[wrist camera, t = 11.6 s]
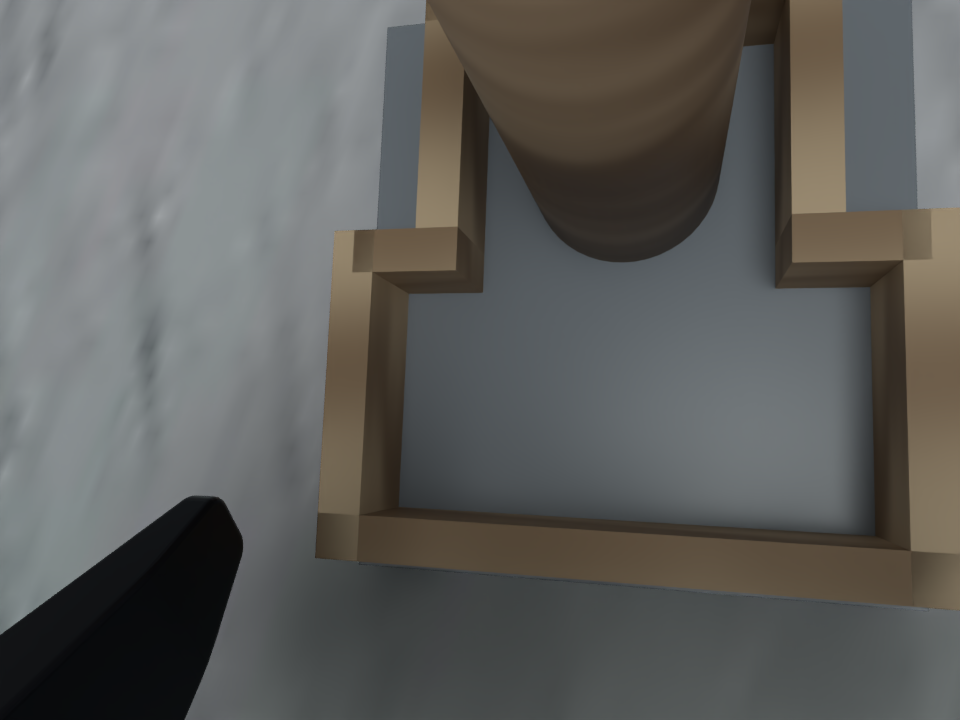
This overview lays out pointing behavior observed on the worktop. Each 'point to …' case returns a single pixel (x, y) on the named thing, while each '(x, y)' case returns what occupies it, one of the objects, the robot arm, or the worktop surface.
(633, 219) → the walnut peg
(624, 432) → the keyhole plate
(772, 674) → the worktop surface
